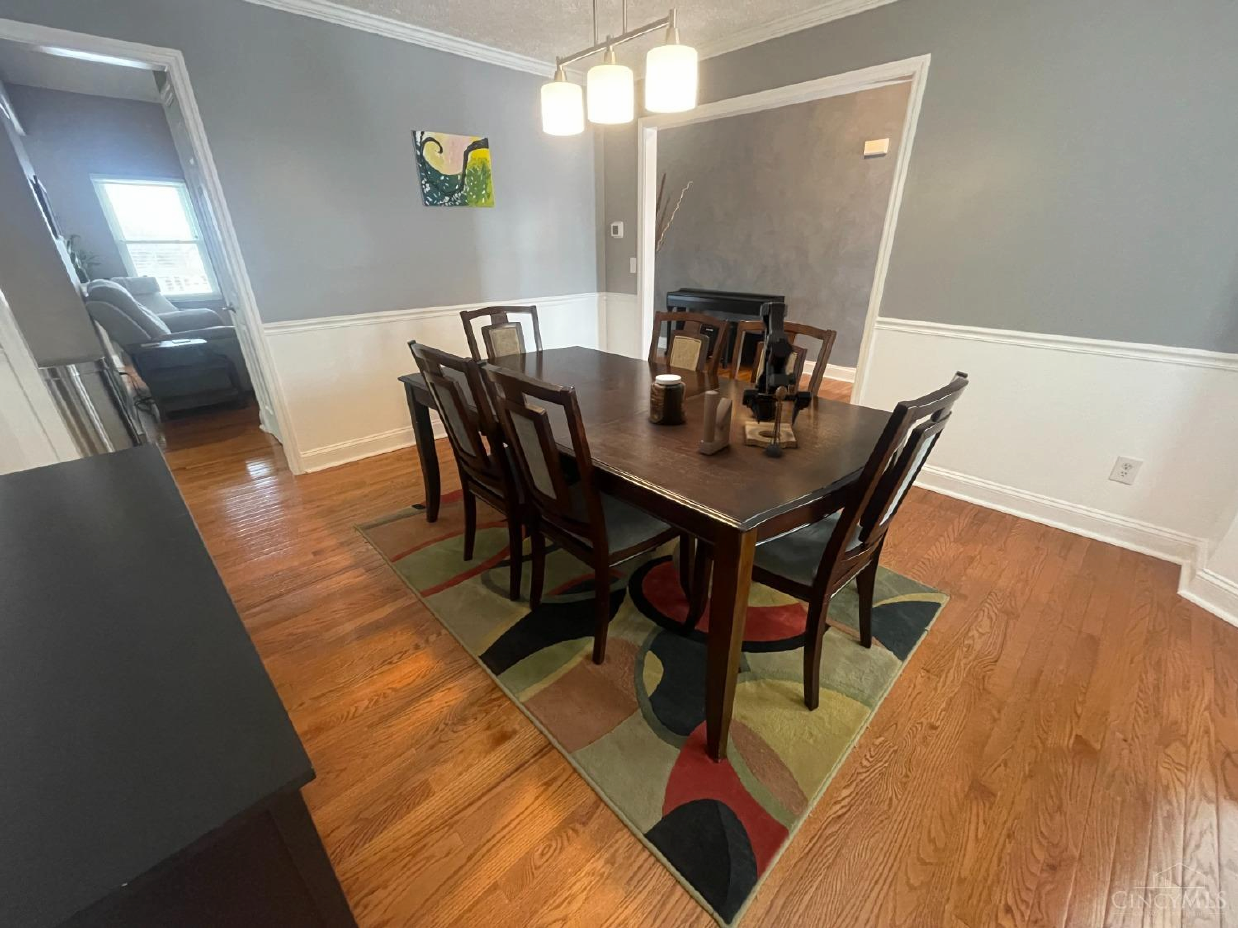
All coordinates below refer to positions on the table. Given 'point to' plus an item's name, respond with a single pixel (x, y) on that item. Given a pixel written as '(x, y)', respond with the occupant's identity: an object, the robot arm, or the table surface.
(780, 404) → the wooden tabletop sculpture
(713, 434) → the beige post stand
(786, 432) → the wooden board with hole
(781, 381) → the robot arm
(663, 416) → the jar
